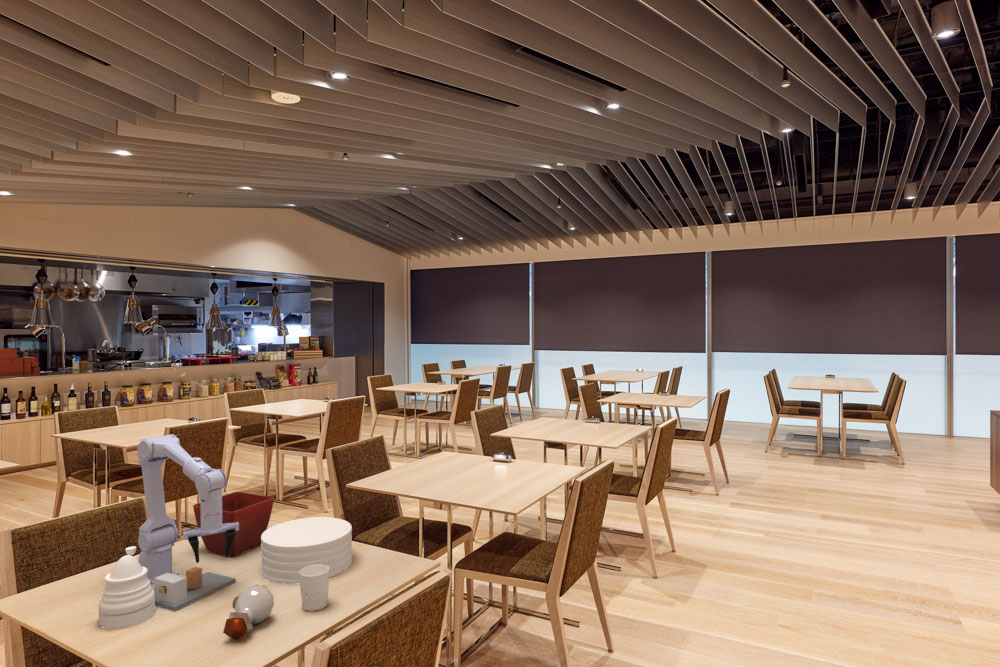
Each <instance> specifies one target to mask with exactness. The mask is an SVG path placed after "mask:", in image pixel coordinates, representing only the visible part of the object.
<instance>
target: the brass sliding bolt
mask: <svg viewBox="0 0 1000 667" xmlns="http://www.w3.org/2000/svg"><path fill="white" fill-rule="evenodd" d="M202 574H203V569H202V568H201V567H196V566H194V567H191V568H189V569H187V570H185V577H186V578H187V588H189V589H195V588H198V587H200V586H202ZM166 592H167V587H166V586H163V587H160V588H159V593H161V594H163V593H166Z"/></svg>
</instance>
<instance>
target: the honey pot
mask: <svg viewBox="0 0 1000 667" xmlns="http://www.w3.org/2000/svg"><path fill="white" fill-rule="evenodd" d="M136 551H137V546H134V545H133V546H128V547H126V548H125V553H126V555H123V556H121V557H120V558H119V559H118V560H117V561H116V563H115V565H114V566H113V568H112V570H111V571H110V572H109V573H107V574H106V575H105V576H104V579H103V580H104V582H105V587H104V588H103V590H102V595H101V599H100V600H99V601H98V626H99V625H100V626H101V627H104V628H107V629H106V630H119V629H118V628H121V629H126V627H127V628H131V627H133V626H137V625H140V624H142V623H143V622H146V621H147V620H149V619H151V618H152V617H153V616H154V615H155V612H156V605H155V599H154V598H155V597H154V595H155V593H154V588H153V587H152V583H150V580H149V579H148V578H147V576H146V574H147V572H148V569H147V568H146V567H143V566H141V565H140V563H139V562H138V560H137V559H136V558H135V557H134V554H135V553H136ZM100 626H99V627H100ZM130 626H131V627H130ZM101 627H100V628H101ZM104 628H103V629H104Z"/></svg>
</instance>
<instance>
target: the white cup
mask: <svg viewBox="0 0 1000 667" xmlns="http://www.w3.org/2000/svg"><path fill="white" fill-rule="evenodd" d="M329 584H330V578H329V567H328V566H326V565H311V566H307V567H305V568H303V569H301V570H300V584H299V588H300V598H301V607H302V609H303V611H306V610H308V611H307V612H315V611H314V610H318V611H320V610H319V609H321V610H323V609H324V607H325V606H326V607H327V605H328V604H329V602H328V601H329V586H330V585H329ZM326 607H325V608H326ZM322 608H323V609H322Z"/></svg>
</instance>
